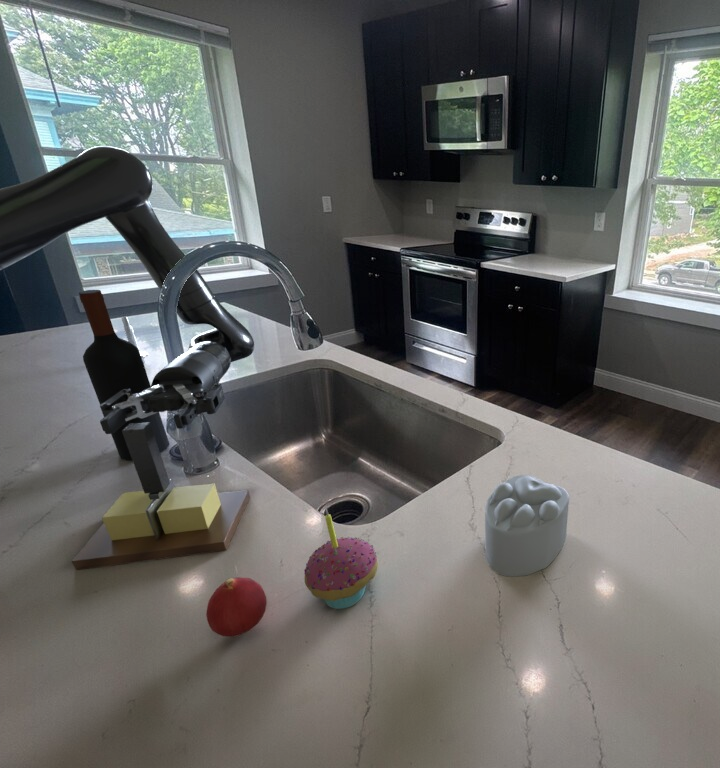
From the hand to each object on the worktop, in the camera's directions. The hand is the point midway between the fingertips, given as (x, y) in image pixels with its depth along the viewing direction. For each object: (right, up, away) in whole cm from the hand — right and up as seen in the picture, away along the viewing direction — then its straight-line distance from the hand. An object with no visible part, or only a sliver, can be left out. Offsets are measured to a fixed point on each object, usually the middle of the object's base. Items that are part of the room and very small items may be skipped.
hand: (142, 425), depth 63 cm
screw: (-52, +11, +64) cm, 83 cm away
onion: (+19, -23, -9) cm, 31 cm away
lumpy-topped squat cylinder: (+52, -18, +5) cm, 55 cm away
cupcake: (+29, -21, -4) cm, 36 cm away
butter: (0, -14, +5) cm, 15 cm away
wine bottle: (-19, -7, +25) cm, 32 cm away
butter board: (0, -16, +5) cm, 17 cm away
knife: (0, -14, +5) cm, 15 cm away
